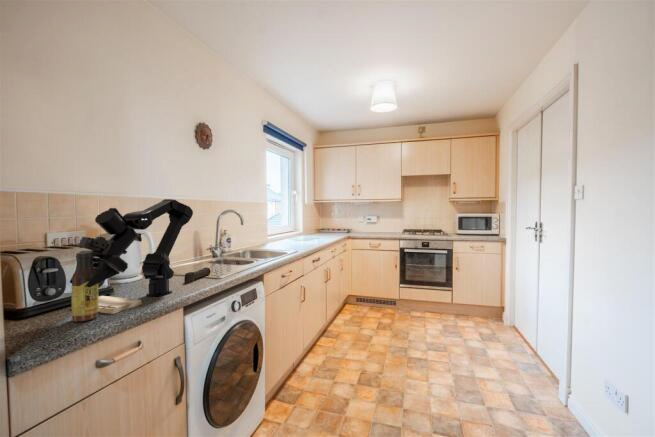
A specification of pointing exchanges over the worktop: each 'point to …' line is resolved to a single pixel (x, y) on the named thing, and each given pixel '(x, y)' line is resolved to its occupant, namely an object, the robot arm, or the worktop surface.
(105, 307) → the birch board
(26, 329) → the worktop surface
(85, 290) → the sauce bottle
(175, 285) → the worktop surface
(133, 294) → the worktop surface
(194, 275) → the hand tool
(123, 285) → the worktop surface
